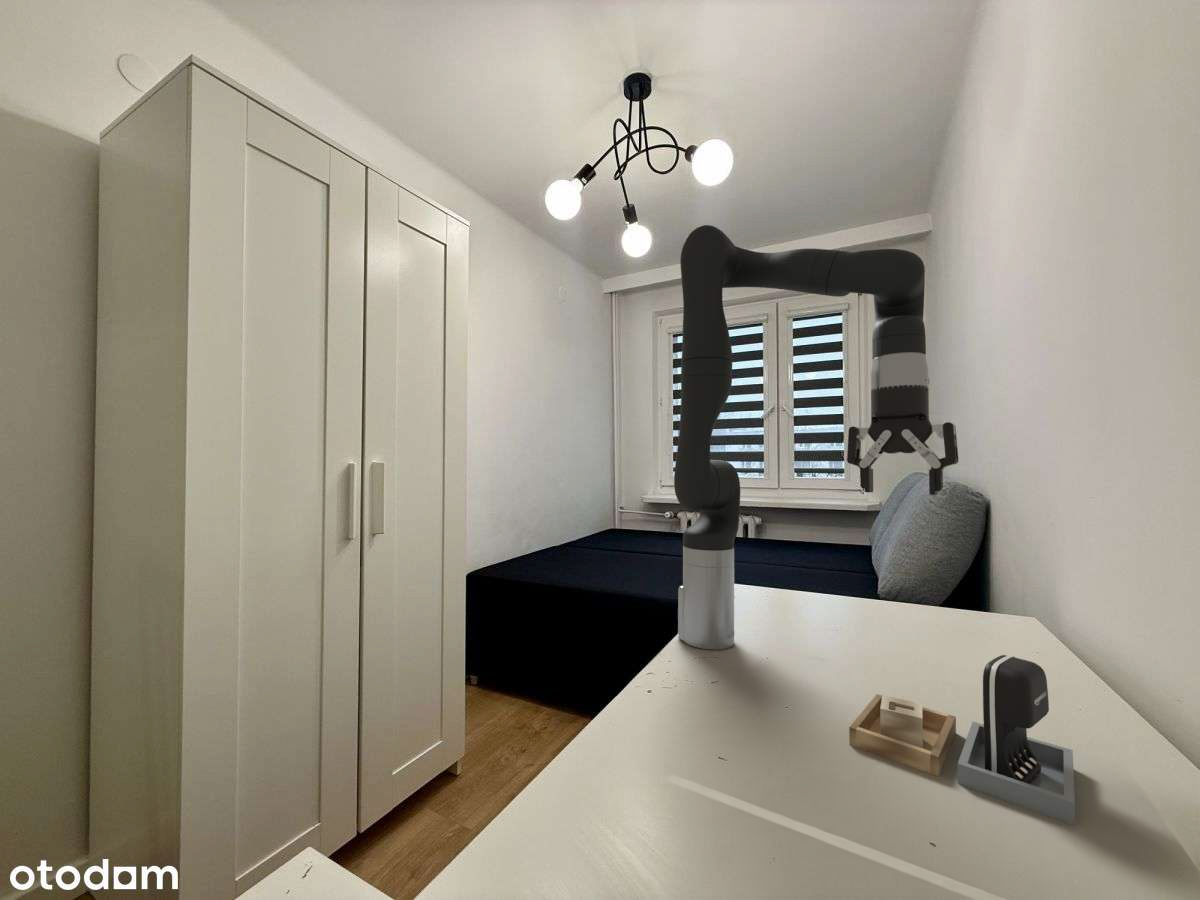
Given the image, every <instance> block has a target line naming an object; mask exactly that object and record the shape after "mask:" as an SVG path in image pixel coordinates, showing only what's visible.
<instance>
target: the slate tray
mask: <svg viewBox="0 0 1200 900" xmlns="http://www.w3.org/2000/svg"><path fill="white" fill-rule="evenodd" d="M1027 740H1028V743H1029V746H1030V749H1031V751H1032V753H1033V754H1034V756H1035V758H1036V760H1037V761H1038V763H1039V764H1040V765H1041V772H1040V774H1039V775H1038V776H1037V777H1036V778H1035V779H1034V780H1033V781H1032V782H1031V783H1030V784H1027V783H1024V782H1021V781H1018V780H1015V779H1013V778H1010V777H1007V776H1004V775H1001V774H998V773H995V772H992V771H989V770H986V769H985V745H984V723H980V722H976V721H971V725H970V727H969V731H968V733H967V736H966V738H965V742H964V745H963V748H962V750H961V752H960V756H959V759H958V762H957V784H958V785H961V786H964V787H965V788H969V789H972V790H974V791H977V792H980V793H983V794H986V795H988V796H991V797H994V798H995V799H996V798H997V799H1000V800H1002V801H1006V802H1008V803H1011V804H1014V805H1016V806H1020V807H1021V808H1024V809H1027V810H1030V811H1032V812H1036V813H1039V814H1041V815H1044V816H1045V817H1046V816H1047V817H1048V818H1049V817H1050V818H1052V819H1055V820H1057V821H1059V822H1063V823H1066V824H1069V825H1072V826H1074V827H1075V826H1076V799H1075V797H1076V796H1075V774H1074V773H1075V772H1074V753H1073V749H1070V748H1068V747H1063V746H1060V745H1057V744H1053V743H1049V742H1046V741H1042V740H1038V739H1035V738H1032V737H1028V736H1027Z"/></svg>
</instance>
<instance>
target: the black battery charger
mask: <svg viewBox="0 0 1200 900" xmlns="http://www.w3.org/2000/svg"><path fill="white" fill-rule="evenodd" d="M1048 689H1049V688H1048V680H1047V674H1046V672H1045V670H1044V669H1043V668H1042V667H1041V666H1040V665H1039V664H1037V663H1036V662H1033V661H1030V660H1027V659H1023V658H1018V657H1016V656H1013V655H1010V654H1008V655H1006V654H1000V655H999V656H997V657H994V658H993V659H992V660H990V661H988V663H986V665H985V666H984V669H983V675H982V713H983V714H982V715H983V725H984V745H985V769H986V770H989V771H992V772H995V773H998V774H1001V775H1004V776H1007V777H1010V778H1013V779H1015V780H1018V781H1021V782H1024V783H1027V784H1030V783H1031V782H1032V781H1033V780H1034V779H1035V778H1036V777H1037V776H1038V775H1039V774H1040V772H1041V765H1040V764H1039V763H1038V761H1037V760H1036V758H1035V756H1034V754H1033V753H1032V751H1031V749H1030V746H1029V743H1028V740H1027V737H1028V735H1027V733H1028V731H1027V729H1031V728H1033V727H1034V726H1035V725H1037V724H1038V723H1039V722H1040V721H1041V720H1042V719H1043V718H1045V717H1046V715H1048V713H1049V712H1050V708H1049V706H1050V703H1049V701H1050V700H1049V690H1048Z"/></svg>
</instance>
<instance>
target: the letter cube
mask: <svg viewBox="0 0 1200 900" xmlns="http://www.w3.org/2000/svg"><path fill="white" fill-rule="evenodd" d="M881 695H882V701H881V707H880V729H881V735H884V736H887V737H890V738H893V739H896V740H899V741H902V742H905V743H908V744H911V745H914V746H917V747H920V748H923V715H922V707H923V703H920V702H915V701H911V700H906V699H903V698H902V699H901V698H897V697H892V696H890V695H889V696H888V695H884V694H881Z"/></svg>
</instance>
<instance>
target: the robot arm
mask: <svg viewBox="0 0 1200 900" xmlns="http://www.w3.org/2000/svg"><path fill="white" fill-rule="evenodd" d="M679 259H680V260H679V263H680V275H681V287H682V289H681V290H682V303H683V306H682V307H683V314H682V337H681V338H682V340H681V341H682V342H681V344H682V346H681V361H680V362H681V365H680V366H681V367H680V416H679V431H678V433H679V434H678V440H677V441H678V443H677V449H676V457H675V465H674V473H673V474H674V476H673V486H674V493H675V496H676V499H677V502H678V503H679V504H680V506H682V508H684V509H686V510H688V511H689V510H690V511H699V515H698V518H697V520H696V521H695V522H694V523H693V524H692V525H690V526H689V527H688V528H686V529H685V530H684V532H683V535H682V585H679V587H678V590H677V591H678V593H677V595H678V596H677V597H678V598H677V600H678V601H677V602H678V603H677V606H678V607H677V622H678V623H677V639H678V640H681V641H683V642H684V643H685V644H687V645H689V646H691V647H695V648H699V649H703V650H726V649H729V648H731V647H733V646H734V644H735V539H736V536H737V535H738V531H739V525H740V511H741V481H740V477H739V473H738V471H737V469H736V468H735V466H734V465H733V464H731V463H730V462H729V461H726V460H721V459H711V444H712V435H713V430H714V427H715V424H716V422H717V420H718V418H719V416H720V414H721V413H722V410H723V409H724V407H725V406H726V405H725V404H726V403H727V400H729V396H730V393H731V390H732V383H733V349H732V343H731V338H730V337H731V336H730V333H729V328H728V323H727V319H726V314H725V310H724V305H723V302H724V301H723V291H724V290H723V289H726V288H727V289H730V288H731V289H733V288H734V289H735V288H764V289H775V290H776V289H777V290H784V291H793V292H799V293H806V294H813V295H821V296H828V297H836V298H838V297H839V298H841V297H846V296H848V295H849V294H850V293H851V294H864V295H865V294H866V295H873V307H874V309H873V310H874V327H873V331H872V336H871V337H872V339H871V343H872V344H871V345H872V347H871V348H872V349H871V350H872V351H871V354H872V356H871V357H872V361H871V363H872V365H871V368H870V369H871V371H870V420H871V421H870V424H869V426H868V427H858V426H850V427H849V428H848V433H847V434H848V436H847V437H848V439H847V452H846V453H847V455H846V461H847V463H848V464H850V465H853V466H857V468H859V470H860V471H859V472H860V473H859V474H860V477H859V479H860V480H859V481H860V487H861V489H864V492H865V493H874V469H873V468H872V466H873V465H874V464H875V463H876V461H878V459H879V458H881V457H882V456H883V454H884V453H886V454H891V455H893V454H898V453H902V454H914V453H916V452H917V453H918V454H919V455H920V456H921V458H923V459H924V460H925V462H927V463H928V465H930V469H928V481H929V483H928V484H929V485H928V486H929V492H928V493H929V495H930V496H938V494H939V493H938V492H942V490H943V488H944V474H943V473H944V469H945V468H947V467H949V466H953V465H957V464H959V451H958V440H957V431H956V430H957V429H956V425H955V424H954V423H952V422H950V421H949V422H948V421H947V422H944V423H940V424H939V423H938V424H932V423H931V421H930V404H929V402H930V400H929V393H930V392H929V385H930V377H929V368H928V361H927V344H926V343H927V342H926V340H927V337H926V327H925V322H924V311H925V307H924V306H925V287H926V285H925V283H926V281H925V280H926V278H925V276H926V275H925V274H926V269H925V264H924V262H923V259H922V258H921V257H920V256H919V255H917V254H916V253H915V252H912V251H909V250H905V249H900V248H878V249H876V248H875V249H866V250H859V251H847V250H846V251H845V250H838V249H836V250H835V249H827V248H826V249H825V248H824V249H823V248H812V247H811V248H798V249H790V250H785V251H776V252H760V251H754V250H753V251H752V250H750V249H745V248H742V247H738V246H736V245H735V244H734V243H733V241H732V240H731V238H729V237H728V236H727V235H726V233H725V232H724V231H723V230H721V229H720V228H718V227H715V226H714V225H710V224H703V225H699V226H697V227H695V228H694V229H693V230H691V231H690V232H689V234H688V235H687V236H686V238H685V239H684V242H683V244H682V247H681V251H680V257H679ZM933 432H935V433H936V434H937V437H938V438H940V439H943V444H944V446H943V447H944V454H945V456H944V457H941V458H939V457H938V455H936V453H935V452H934V451H933V450H932V448H931V447H930V446H929V445H928V444H927V443H926V442H927V440H928V439H929V438H930V437H931V436H932V434H933ZM866 436H869V437H870V438H871V440H872V441H873V442H874V443H873V444H872V445H871V447H870V448H869V449H868V451H867V452H866V454H865V455H864V457H863V458H861V445H862V444H861V443H862V442H863V441H864V440H866ZM678 635H679V636H678Z"/></svg>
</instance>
